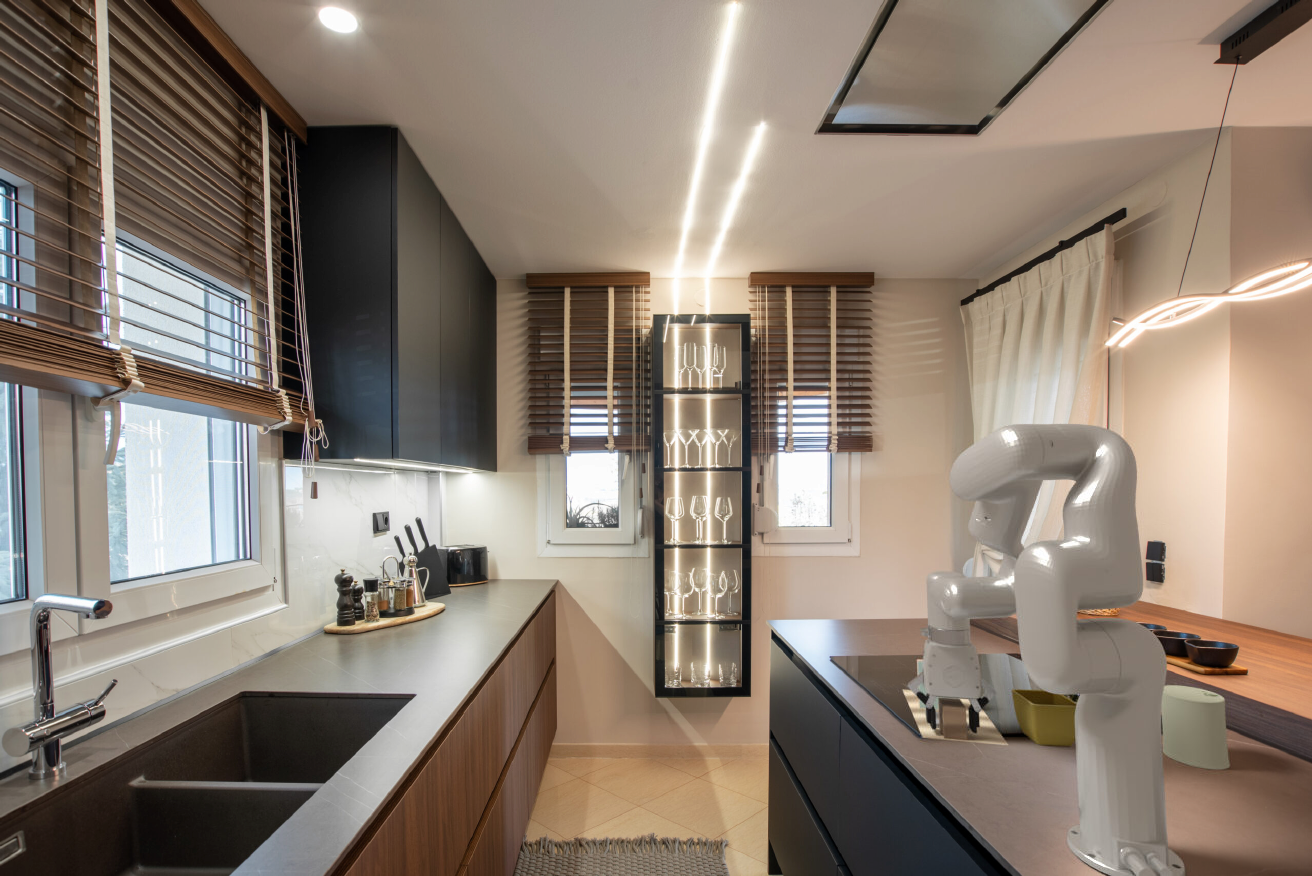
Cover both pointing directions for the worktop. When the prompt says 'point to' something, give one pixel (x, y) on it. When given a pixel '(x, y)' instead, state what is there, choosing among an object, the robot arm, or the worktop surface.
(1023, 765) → the worktop surface
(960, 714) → the block on grey plate
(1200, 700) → the can
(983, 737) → the board
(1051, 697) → the flower pot
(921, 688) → the tile
